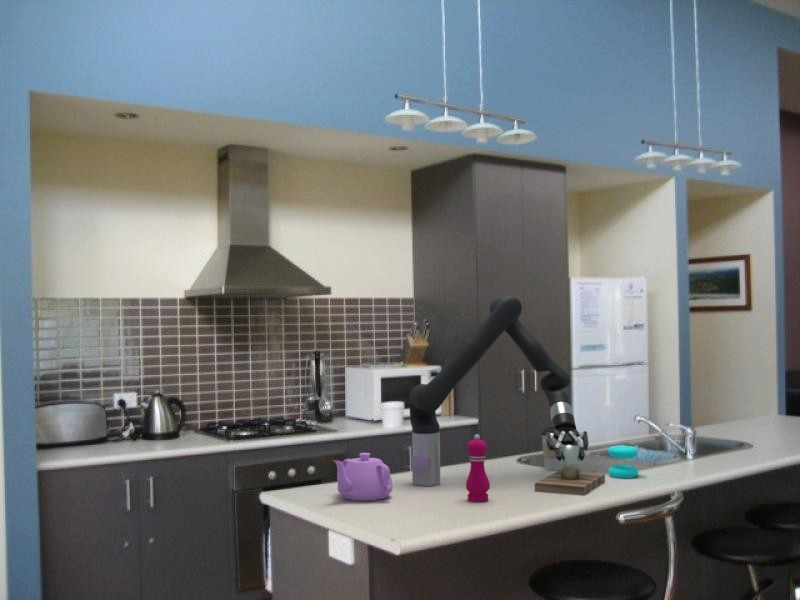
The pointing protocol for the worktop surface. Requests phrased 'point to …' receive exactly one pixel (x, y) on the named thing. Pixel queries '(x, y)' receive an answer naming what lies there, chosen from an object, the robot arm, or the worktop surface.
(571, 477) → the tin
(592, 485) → the board
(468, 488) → the pepper mill
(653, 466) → the worktop surface
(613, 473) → the pair of cyan discs
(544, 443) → the coffee cup
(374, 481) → the teapot
